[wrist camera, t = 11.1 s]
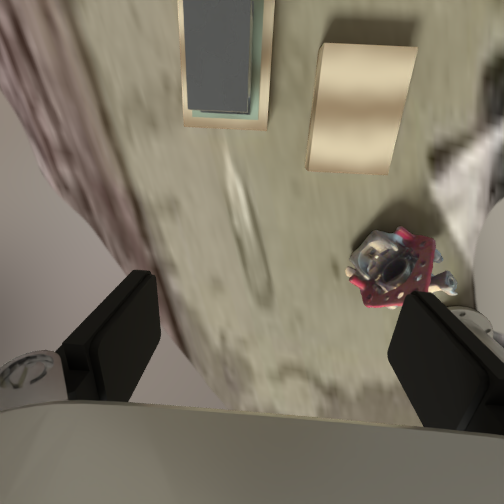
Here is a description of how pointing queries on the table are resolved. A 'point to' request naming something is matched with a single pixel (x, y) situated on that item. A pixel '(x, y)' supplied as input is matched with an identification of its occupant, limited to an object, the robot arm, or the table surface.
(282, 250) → the table surface
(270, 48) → the stand
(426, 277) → the motor mount assembly
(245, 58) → the block
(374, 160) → the stand
